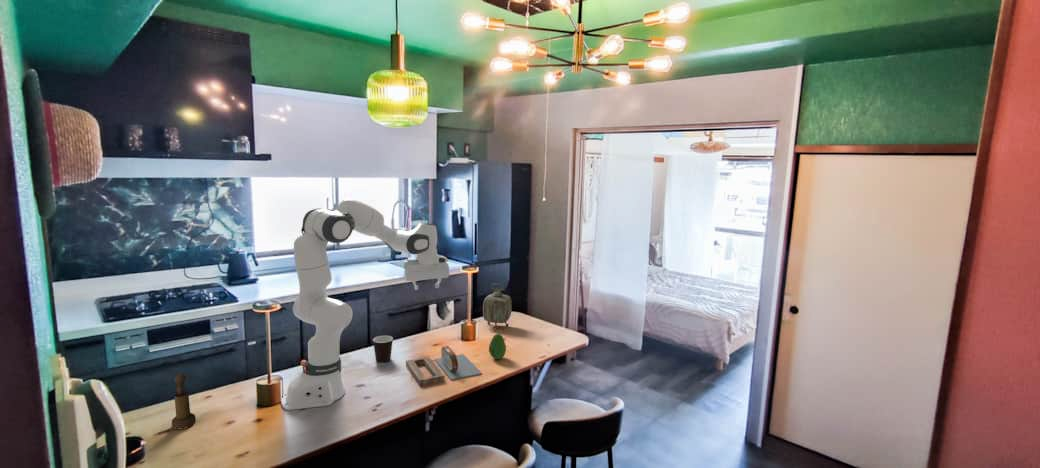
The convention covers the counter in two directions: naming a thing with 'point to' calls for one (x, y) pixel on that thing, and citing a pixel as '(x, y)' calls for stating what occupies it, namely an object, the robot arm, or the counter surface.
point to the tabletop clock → (497, 307)
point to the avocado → (497, 347)
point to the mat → (460, 368)
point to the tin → (449, 358)
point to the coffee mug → (383, 348)
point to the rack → (431, 367)
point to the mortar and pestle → (182, 406)
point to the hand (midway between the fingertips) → (426, 288)
